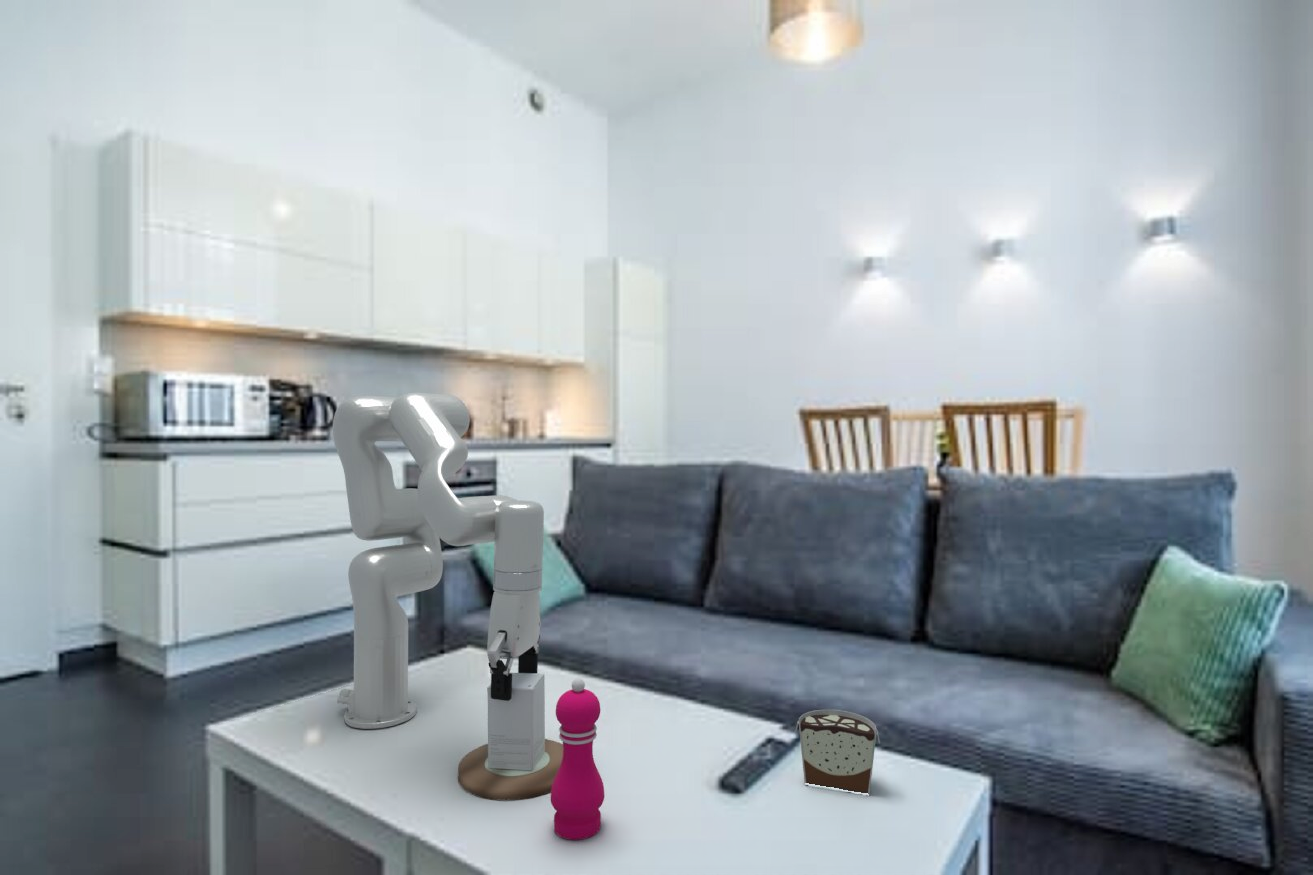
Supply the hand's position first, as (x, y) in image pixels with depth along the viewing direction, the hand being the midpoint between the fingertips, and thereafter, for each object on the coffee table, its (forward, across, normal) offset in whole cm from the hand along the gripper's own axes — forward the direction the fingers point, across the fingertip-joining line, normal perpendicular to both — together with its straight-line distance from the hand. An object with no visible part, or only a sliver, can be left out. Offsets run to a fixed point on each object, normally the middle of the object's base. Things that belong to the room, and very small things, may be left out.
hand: (514, 687), depth 112 cm
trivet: (+13, 0, +1) cm, 13 cm away
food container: (+12, -9, +50) cm, 52 cm away
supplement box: (+11, 0, +1) cm, 11 cm away
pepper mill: (+13, +13, +16) cm, 24 cm away
